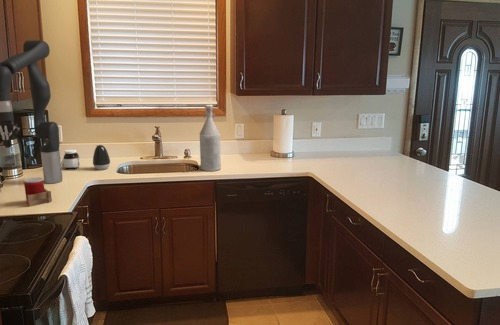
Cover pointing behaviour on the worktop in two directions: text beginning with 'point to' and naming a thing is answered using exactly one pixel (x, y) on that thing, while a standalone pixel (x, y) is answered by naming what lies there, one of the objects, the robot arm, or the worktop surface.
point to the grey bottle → (210, 143)
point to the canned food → (33, 186)
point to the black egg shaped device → (101, 158)
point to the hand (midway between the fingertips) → (8, 147)
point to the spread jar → (70, 159)
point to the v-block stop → (39, 198)
